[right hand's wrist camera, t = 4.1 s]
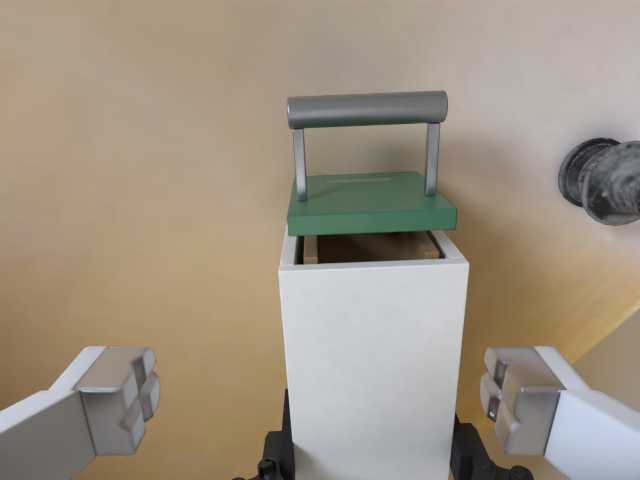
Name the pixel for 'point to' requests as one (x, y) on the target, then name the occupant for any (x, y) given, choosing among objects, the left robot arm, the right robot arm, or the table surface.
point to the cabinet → (373, 362)
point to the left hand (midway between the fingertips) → (364, 399)
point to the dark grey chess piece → (604, 180)
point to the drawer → (368, 184)
